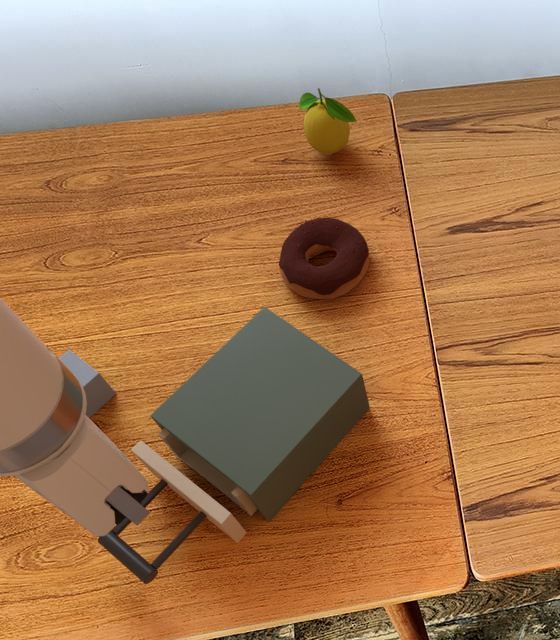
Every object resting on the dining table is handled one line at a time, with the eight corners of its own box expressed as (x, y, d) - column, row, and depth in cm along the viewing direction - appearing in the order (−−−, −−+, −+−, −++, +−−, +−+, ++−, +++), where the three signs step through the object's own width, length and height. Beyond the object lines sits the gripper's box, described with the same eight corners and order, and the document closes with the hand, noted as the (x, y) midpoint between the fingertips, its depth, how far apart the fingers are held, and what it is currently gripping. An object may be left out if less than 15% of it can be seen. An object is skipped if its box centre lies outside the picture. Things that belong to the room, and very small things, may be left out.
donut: (299, 317, 83) (293, 297, 80) (269, 252, 88) (262, 231, 84) (384, 283, 86) (381, 262, 82) (351, 222, 90) (347, 200, 87)
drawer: (178, 610, 66) (155, 596, 61) (91, 533, 69) (63, 514, 64) (336, 432, 75) (328, 407, 70) (253, 372, 78) (239, 344, 74)
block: (80, 426, 76) (61, 406, 72) (51, 401, 77) (30, 381, 73) (116, 393, 78) (99, 373, 74) (87, 370, 79) (69, 349, 75)
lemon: (362, 162, 95) (353, 100, 87) (317, 174, 94) (303, 113, 86) (346, 126, 99) (336, 63, 90) (302, 138, 97) (288, 75, 89)
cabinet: (269, 522, 71) (250, 495, 65) (176, 447, 75) (149, 415, 68) (370, 408, 78) (362, 373, 71) (279, 344, 81) (264, 306, 75)
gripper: (-119, 387, 46) (28, 487, 62) (39, 532, 42) (155, 600, 57) (-13, 303, 49) (102, 419, 65) (145, 429, 45) (227, 520, 61)
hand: (126, 503), depth 61 cm, fingers closed
